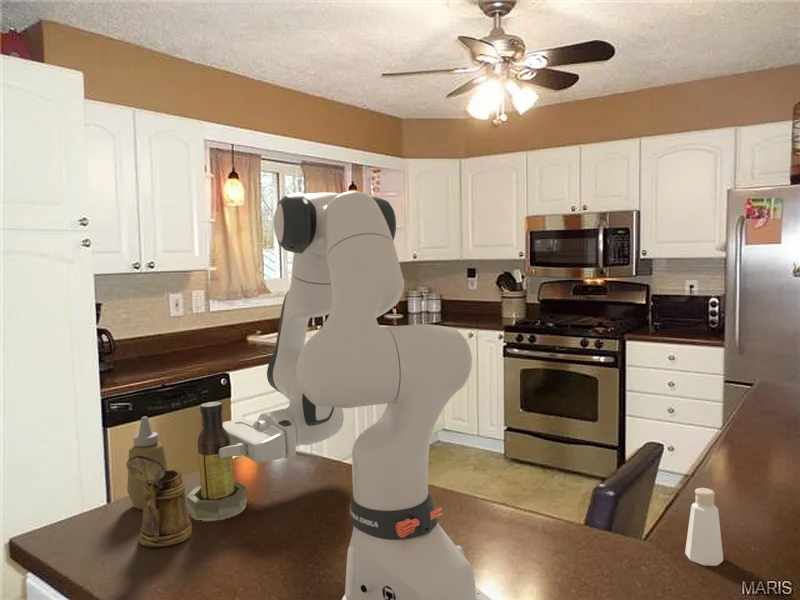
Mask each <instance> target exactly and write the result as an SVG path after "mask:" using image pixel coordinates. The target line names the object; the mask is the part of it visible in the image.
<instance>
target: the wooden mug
mask: <svg viewBox="0 0 800 600" xmlns="http://www.w3.org/2000/svg"><path fill="white" fill-rule="evenodd" d="M125 466H126V469H127V472H128V471H129V472H130V474H131V475H132V476H134V477H135V478H137V479H139V480H141V481H143V482H144V483H145V485H144V489H143V496H144V508H143V510H142V524H141V528H140V529H139V530H140V531H139V544H140V545H142V546H144V547H147V548H153V549H155V548H157V549H158V548H160V549H161V548H168V547H171V546H176V545H179V544H181V543H183V542H185V541H186V540H188V539H189V538H190V537H191V536H192V534H193V525H192V520H191V518H190V515H189V512H188V508H187V497H186V493H185V491H186V485H185V480H184V478H183V476H182V472H181V471H179V470H176V469H168V470H164V468H163V466H162V465H161V464H160V463H159V462H157V461H155V460H153V459H151V458H147V457H144V456H138V455H137V456H135V457H133V458H131V459H129V458H128V460H127V461H126V465H125Z"/></svg>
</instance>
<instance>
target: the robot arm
mask: <svg viewBox="0 0 800 600" xmlns="http://www.w3.org/2000/svg"><path fill="white" fill-rule="evenodd" d="M273 215H274V216H273V223H272V224H273V230H274V235H275V236H276V240H277V243H278V245H279V246H280V247H281V248H282V249H283V250H284V251H286V252H287V251H288V252H290V253H293V255H292V257H293V258H292V266H291V268H292V269H291V279H290V285H289V286H290V287H289V289H288V290H287V292H286V293H285V296H284V298H283V301H282V306H281V311H280V317H279V323H278V329H277V330H278V331H277V336H276V340H275V341H276V343H275V347H274V350H273V353H272V356H271V358H270V360H269V362H268V365H267V370H266V379H267V381H268V384H269V386H271V387H272V388H273V389H274V390H276V391H277V392H279V393H280V394H282V395H283V396H284V397H285V398H287V400H289V405H288V406H287V407H285V408H281V409H280V408H279V409H276V410H272V411H267V412H263V413H261V414H260V415H259V416H258V418H257V420H256V421H252V420H250V419H244V418H242V419H241V418H239V419H234V420H228V421H222V422H223V428H224V429H225V430H226V431H227V433H228V434H229V437H230V442H231V446H226V445H225V446H222V447H218V448H217V455H218V456H219V457H221V458H224V457H228V456H232V457H241V456H244V457H245V458H247V459H249V460H250V461H253V462H255V463H267V462H268V463H269V462H272V461H277V460H281V459H284V458H285V459H291V458H294V457H296V455H297V447H299V446H310V445H313V444H316V443H317V444H318V443H320V442H323V441H325V440H328V439H330V438H331V437H333V436H335V435H336V434H337V433H339V432H340V431H341V429H342V428H343V424H344V421H345V420H344V419H345V415H344V411H343V409H351V408H352V409H353V408H361V407H368V406H375V405H377V406H378V405H385V404H386V407H385V410H384V411H383V414H382V415H381V416H380V417H379V419H377V421H375V423H373V424H371V425H370V426H369V427H367V428H366V429H364V430H363V431H362V432H361V433H360V435H358V437H357V438H356V439H355V442H354V444H353V447H352V449H351V470H352V471H351V472H352V493H351V495H350V501H349V502H350V504H349V514H350V522H351V524H352V527H353V528H352V533H351V536H350V537H351V538H350V541H349V545H348V547H347V553H346V554H347V555H346V557H347V558H346V571H345V587H344V594H343V596H342V597H341V600H492V598H490V597H489V596H488V595H487V594H485V593H484V592H482V591H481V590H480V589H479V588H478V587H476V582H475V581H476V580H475V576H474V572H473V571H474V570H473V568H472V565H471V563H470V561H469V559H467V558H466V554H465V551H464V548H462V546H460V545H456V544H455V543H454V542H453V540H452V539H451V538H450V537H449V535H448V534H447V533H446V532H445V531H444V529H443V528H442V527H441V525H440V524H439V517H441V516H443V513H440V512H441V511H443V507H438V508H436V507H435V504H434V500H433V498H432V495H431V492H430V491H429V457H430V456H429V455H430V443H431V439H432V434H433V431H434V429H435V426H436V423H437V422H438V419H439V417H440V415H441V414H442V411H443V410H444V408H445V407H446V406H447V404H448V403H449V401H450V400H451V399H452V397H454V396H455V395H456V393H458V392H459V391H460V390H462V388H463V387H464V386H465V385H466V383H467V381H468V380H469V377H470V375H471V371H472V367H473V366H472V365H473V358H472V357H473V356H472V351H471V348H470V346H469V343H468V341H467V339H466V337H464V335H463V334H462V333H461V332H460V331H459V330H458V329H456V328H455V327H451V326H450V327H449V326H444V325H439V324H438V325H436V324H430V323H429V324H428V323H421V324H410V325H406V324H405V325H396V326H395V325H394V326H381V325H380V324H379V323H378V320H377V318H379V317H381V316H382V315H385V314H386V313H387V312H389V311H390V310H391V309H393V308H394V307H395V306H396V305H397V304H398V302H399V301H400V300H401V298H402V296H403V293H404V288H405V280H404V275H403V273H402V272H403V271H402V269H401V264H400V261H399V257H398V253H397V250H396V246H395V243H394V240H395V237H396V233H397V218H396V213H395V210H394V208H393V206H392V205H391V203H390V202H389V201H388V200H386V199H384V198H380V197H376V196H374V195H373V196H371V195H369V194H367V193H365V192H362V191H357V190H355V191H353V190H352V191H346V192H342V193H337V192H315V193H314V192H313V193H304V194H303V193H302V192H294V193H290V194H289V193H288V194H286V195H283V197H282V198H281V199H279V201H278V202H277V205H276V209H275V211H274V213H273ZM325 316H328V317H327V319H326V320H325V322H324V324H323V325H322V327H321V328H320V329H319V330H318V331H317V332H316V333H315V334H314V335H313V336H312V337H310V338H309V339H308V340H307V341H306V338H307V332H308V326H309V321H310V319H311V318H319V317H325ZM305 342H306V343H305Z"/></svg>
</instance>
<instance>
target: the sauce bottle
mask: <svg viewBox="0 0 800 600" xmlns="http://www.w3.org/2000/svg"><path fill="white" fill-rule="evenodd" d="M199 407H200V410H199V411H200V413H201V419H202V425H201V426H202V430H201V432H200V434H199V435H198V438H197V449H198V451H197V458H198V469H199V481H200V482H199V483H200V486H201V495H202V499H203V500H220V499H223V498H227V497H230V496H233V495H234V467H233V456H228V457H224V458H221V457H219V456H218V455H217V448H218V447H222V446H225V445H226V446H231V442H230V437H229V434H228V433H227V431H226V430H225V429H224V428H223V422H224V421H223V416H222V415H223V414H222V412H223V404H222V402H220V401H209V402H205V403H204V402H203V403H202V404H200V405H199Z"/></svg>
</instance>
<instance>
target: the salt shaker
mask: <svg viewBox="0 0 800 600" xmlns="http://www.w3.org/2000/svg"><path fill="white" fill-rule="evenodd" d="M694 493H695V502H693V503H692V504H691V506H690V513H689V520H688V528H687V535H686V542H685V543H686V544H685V551H684V554H685V555H686V557H687V558H688V560H689V561H690V562H693V563H696V564H699V565H701V566H710V567H717V566H719V565H721V563H723V561H724V555H723V543H722V536H721V525H720V514H719V508H718V507H717V506H716V505H715V495H716V492H714V490H713V489H711V488H706V487H698V488H695V490H694Z"/></svg>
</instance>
